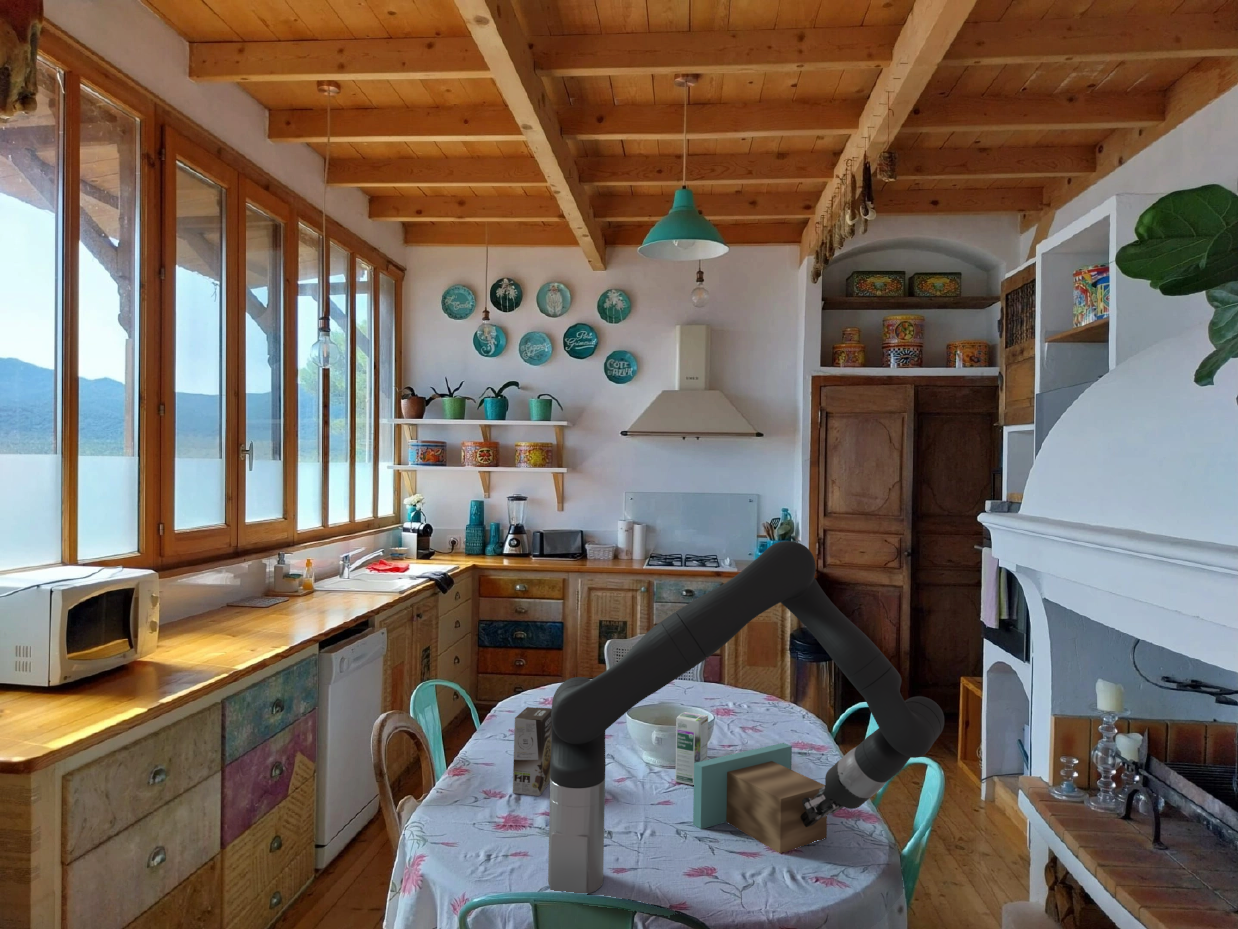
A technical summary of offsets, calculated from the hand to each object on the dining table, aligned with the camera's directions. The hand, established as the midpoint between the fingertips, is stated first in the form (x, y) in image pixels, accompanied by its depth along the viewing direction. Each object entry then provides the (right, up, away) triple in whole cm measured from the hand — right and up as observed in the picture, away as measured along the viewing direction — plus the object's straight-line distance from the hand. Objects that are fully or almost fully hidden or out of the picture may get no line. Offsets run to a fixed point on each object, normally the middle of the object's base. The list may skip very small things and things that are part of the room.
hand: (805, 821), depth 144 cm
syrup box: (-18, -5, +31) cm, 36 cm away
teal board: (-9, -5, +14) cm, 18 cm away
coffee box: (-53, -5, +26) cm, 59 cm away
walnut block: (-4, -5, +7) cm, 9 cm away
